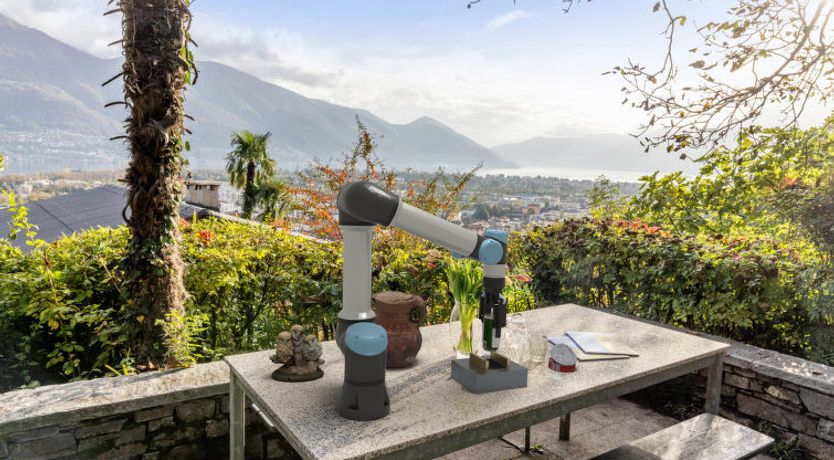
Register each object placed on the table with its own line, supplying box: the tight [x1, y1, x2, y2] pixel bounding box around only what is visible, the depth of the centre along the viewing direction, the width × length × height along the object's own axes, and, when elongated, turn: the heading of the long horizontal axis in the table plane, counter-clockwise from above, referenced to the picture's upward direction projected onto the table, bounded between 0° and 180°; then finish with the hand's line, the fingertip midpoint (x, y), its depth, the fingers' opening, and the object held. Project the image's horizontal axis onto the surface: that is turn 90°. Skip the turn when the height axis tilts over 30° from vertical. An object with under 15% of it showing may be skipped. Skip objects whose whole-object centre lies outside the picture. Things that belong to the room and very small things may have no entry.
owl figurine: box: [268, 324, 326, 383], centre depth 163 cm, size 18×12×17 cm, turn 108°
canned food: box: [547, 343, 578, 374], centre depth 185 cm, size 11×10×10 cm
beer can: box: [482, 312, 500, 353], centre depth 166 cm, size 5×5×12 cm
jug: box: [371, 290, 428, 368], centre depth 182 cm, size 22×21×25 cm
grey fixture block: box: [450, 351, 529, 395], centre depth 168 cm, size 23×18×9 cm
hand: (490, 344), depth 166 cm, fingers closed on beer can, 5 cm apart
